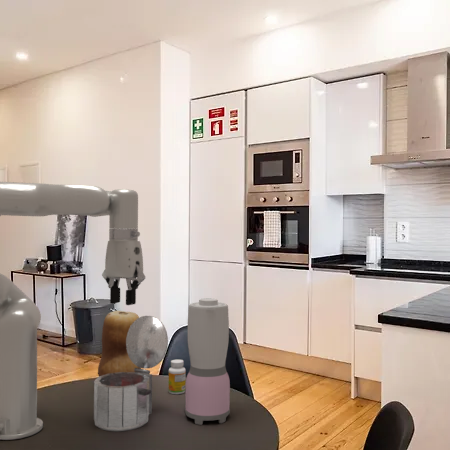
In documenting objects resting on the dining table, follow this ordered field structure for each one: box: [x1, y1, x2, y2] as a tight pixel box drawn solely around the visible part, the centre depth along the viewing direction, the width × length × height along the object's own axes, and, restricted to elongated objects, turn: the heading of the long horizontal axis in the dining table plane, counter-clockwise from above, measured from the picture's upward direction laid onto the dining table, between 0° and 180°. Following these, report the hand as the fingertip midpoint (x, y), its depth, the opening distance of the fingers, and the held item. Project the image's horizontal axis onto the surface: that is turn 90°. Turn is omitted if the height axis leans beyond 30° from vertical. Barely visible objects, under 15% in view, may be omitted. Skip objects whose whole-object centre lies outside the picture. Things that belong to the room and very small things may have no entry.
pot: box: [93, 372, 153, 432], centre depth 134 cm, size 16×18×11 cm
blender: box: [184, 298, 231, 426], centre depth 138 cm, size 16×12×32 cm
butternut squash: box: [97, 310, 142, 377], centre depth 158 cm, size 14×13×25 cm
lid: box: [126, 315, 169, 374], centre depth 141 cm, size 16×15×2 cm
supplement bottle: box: [167, 359, 187, 395], centre depth 157 cm, size 5×5×10 cm
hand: (122, 303), depth 133 cm, fingers open, 4 cm apart
